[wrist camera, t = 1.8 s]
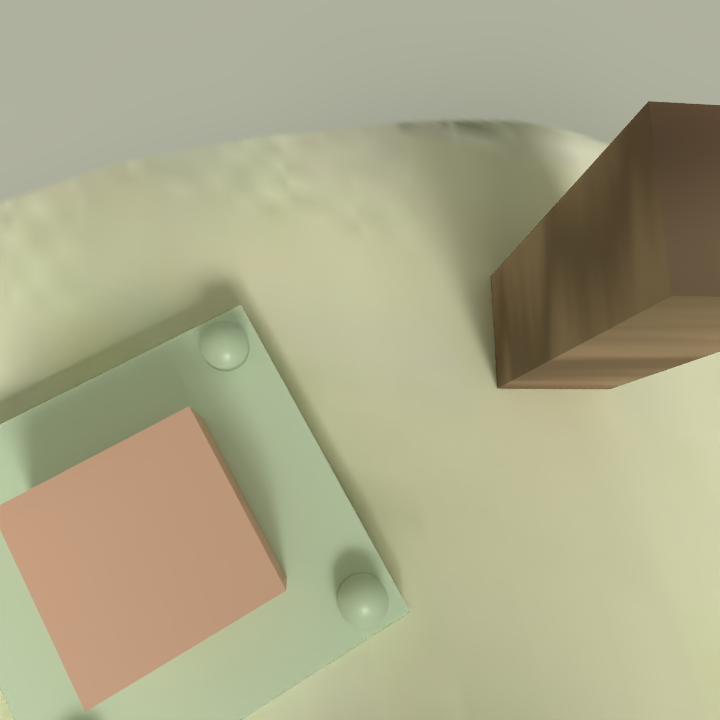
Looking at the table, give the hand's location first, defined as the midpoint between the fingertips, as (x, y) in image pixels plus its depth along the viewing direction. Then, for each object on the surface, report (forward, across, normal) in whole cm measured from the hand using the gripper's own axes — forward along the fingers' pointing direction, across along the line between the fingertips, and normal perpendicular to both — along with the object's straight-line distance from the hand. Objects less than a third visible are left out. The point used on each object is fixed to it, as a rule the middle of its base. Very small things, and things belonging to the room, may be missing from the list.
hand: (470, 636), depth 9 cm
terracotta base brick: (+12, +6, +6) cm, 15 cm away
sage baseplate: (+12, +6, +7) cm, 16 cm away
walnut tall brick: (+15, -10, +4) cm, 18 cm away
